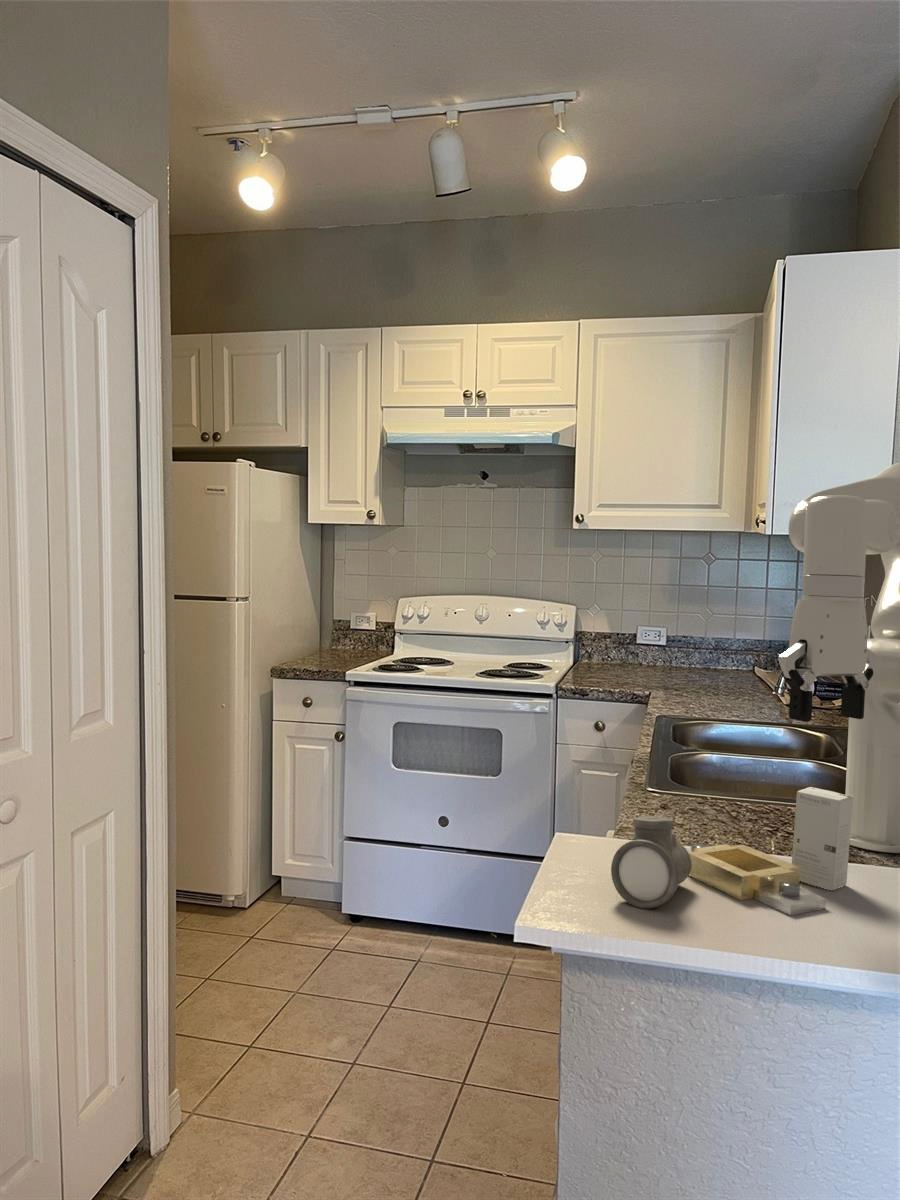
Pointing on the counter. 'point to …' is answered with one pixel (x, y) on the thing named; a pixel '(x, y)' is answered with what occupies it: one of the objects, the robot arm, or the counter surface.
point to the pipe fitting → (650, 863)
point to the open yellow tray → (753, 877)
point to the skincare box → (822, 837)
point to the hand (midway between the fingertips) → (826, 718)
